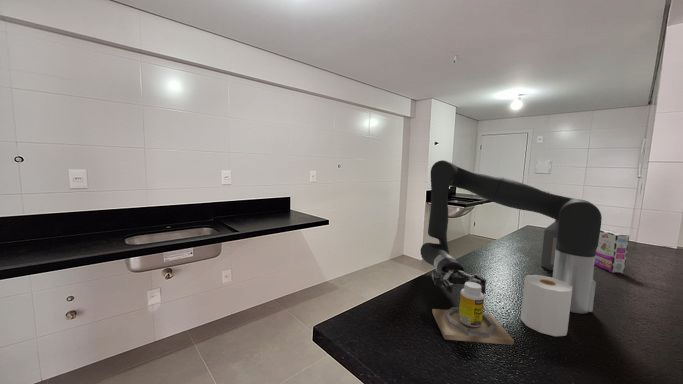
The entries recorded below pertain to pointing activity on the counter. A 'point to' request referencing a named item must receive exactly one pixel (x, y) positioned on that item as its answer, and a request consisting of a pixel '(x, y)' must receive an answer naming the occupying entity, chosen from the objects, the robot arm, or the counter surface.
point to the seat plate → (470, 328)
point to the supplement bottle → (471, 305)
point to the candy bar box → (612, 251)
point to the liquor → (549, 246)
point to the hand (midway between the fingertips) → (467, 290)
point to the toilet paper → (546, 304)
